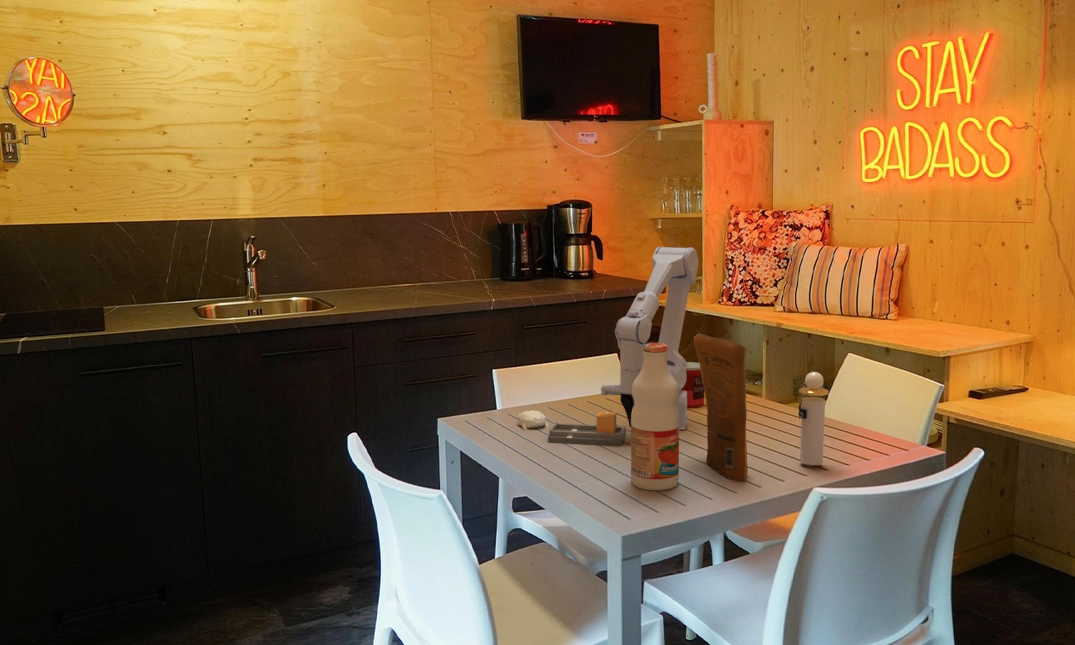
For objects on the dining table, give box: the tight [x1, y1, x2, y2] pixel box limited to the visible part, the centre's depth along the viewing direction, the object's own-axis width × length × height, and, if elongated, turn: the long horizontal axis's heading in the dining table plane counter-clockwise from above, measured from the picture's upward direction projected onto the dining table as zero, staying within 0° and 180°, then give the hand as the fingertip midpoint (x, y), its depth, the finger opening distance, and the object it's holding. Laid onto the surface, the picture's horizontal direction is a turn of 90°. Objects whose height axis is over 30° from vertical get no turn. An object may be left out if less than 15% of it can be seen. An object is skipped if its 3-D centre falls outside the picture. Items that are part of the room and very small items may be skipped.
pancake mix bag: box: [693, 332, 749, 482], centre depth 173 cm, size 7×19×28 cm, turn 13°
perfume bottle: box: [798, 371, 830, 466], centre depth 175 cm, size 6×6×20 cm
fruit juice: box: [630, 342, 680, 491], centre depth 165 cm, size 9×9×28 cm
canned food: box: [681, 361, 705, 409], centre depth 226 cm, size 8×8×11 cm
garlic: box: [517, 410, 549, 430], centre depth 209 cm, size 8×7×4 cm
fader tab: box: [596, 411, 617, 433], centre depth 197 cm, size 4×4×4 cm
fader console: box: [547, 421, 628, 447], centre depth 198 cm, size 17×10×2 cm, turn 76°
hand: (632, 426), depth 196 cm, fingers closed
